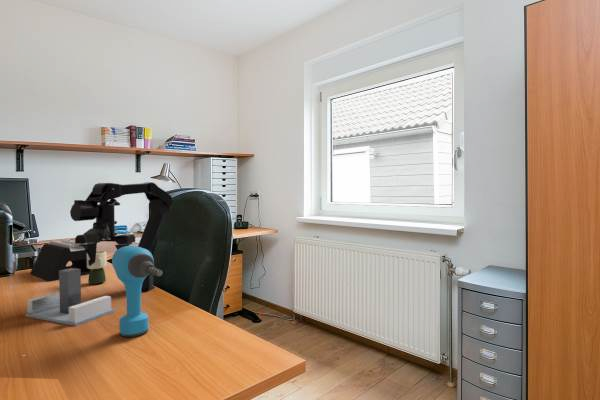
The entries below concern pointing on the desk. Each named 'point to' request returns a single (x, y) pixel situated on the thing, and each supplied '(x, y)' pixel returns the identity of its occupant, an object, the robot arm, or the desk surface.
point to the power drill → (134, 286)
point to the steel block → (69, 288)
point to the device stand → (59, 259)
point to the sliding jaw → (43, 302)
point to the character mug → (97, 268)
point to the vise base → (63, 316)
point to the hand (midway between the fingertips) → (106, 263)
